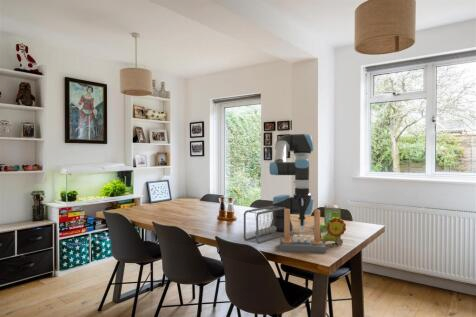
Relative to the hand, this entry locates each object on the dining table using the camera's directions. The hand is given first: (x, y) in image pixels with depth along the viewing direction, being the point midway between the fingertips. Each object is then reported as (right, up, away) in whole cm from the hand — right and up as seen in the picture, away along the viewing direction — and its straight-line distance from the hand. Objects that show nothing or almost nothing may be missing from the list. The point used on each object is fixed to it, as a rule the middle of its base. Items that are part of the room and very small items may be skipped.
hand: (301, 231), depth 174 cm
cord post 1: (-8, -6, +1) cm, 10 cm away
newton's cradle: (-18, -10, +23) cm, 31 cm away
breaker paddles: (0, -6, 0) cm, 6 cm away
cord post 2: (+8, -6, -1) cm, 10 cm away
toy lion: (+19, -10, +9) cm, 23 cm away
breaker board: (0, -9, 0) cm, 9 cm away
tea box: (+32, -9, +53) cm, 62 cm away
